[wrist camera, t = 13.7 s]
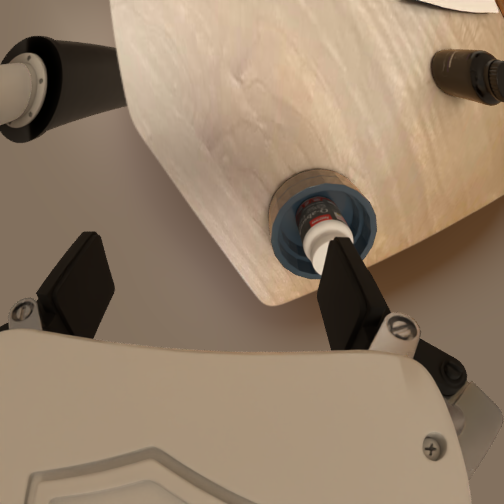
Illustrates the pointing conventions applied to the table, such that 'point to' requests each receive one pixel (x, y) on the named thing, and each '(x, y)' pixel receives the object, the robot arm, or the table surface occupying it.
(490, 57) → the supplement bottle
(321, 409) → the robot arm
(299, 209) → the pill bottle
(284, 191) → the blue bowl
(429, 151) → the table surface
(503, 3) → the small box
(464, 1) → the plate
